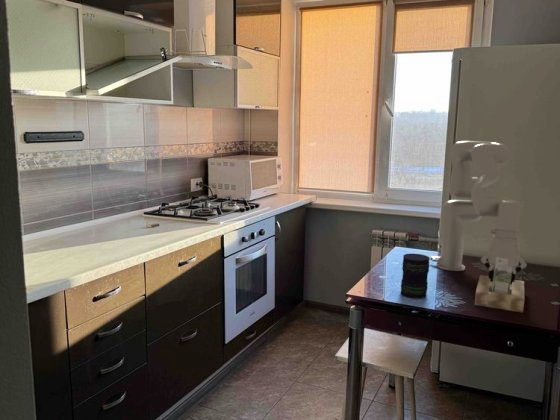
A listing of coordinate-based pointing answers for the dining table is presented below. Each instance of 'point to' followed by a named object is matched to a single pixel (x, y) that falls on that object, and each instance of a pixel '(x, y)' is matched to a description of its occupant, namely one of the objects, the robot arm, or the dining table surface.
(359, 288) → the dining table surface
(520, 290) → the socket block
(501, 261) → the syrup box
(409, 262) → the storage jar
